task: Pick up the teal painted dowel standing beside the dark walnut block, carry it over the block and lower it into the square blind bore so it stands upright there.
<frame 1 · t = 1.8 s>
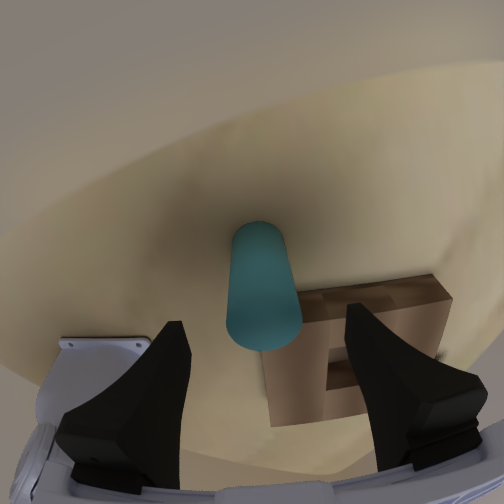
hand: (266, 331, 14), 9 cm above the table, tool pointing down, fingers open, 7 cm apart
pin: (258, 245, 21), on the table
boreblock: (346, 344, 26), on the table
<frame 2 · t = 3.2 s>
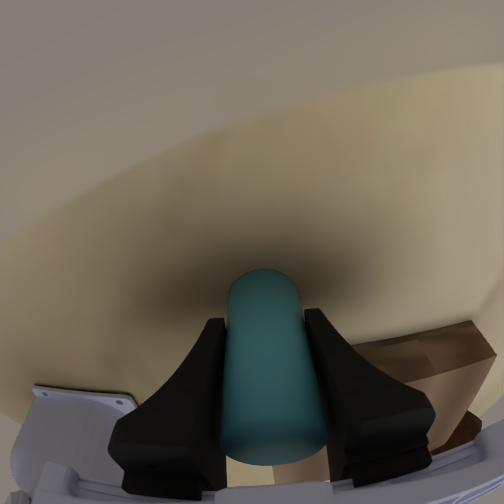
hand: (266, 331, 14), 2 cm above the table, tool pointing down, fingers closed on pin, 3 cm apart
bolt: (436, 442, 25), on the table, touching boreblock
pin: (263, 299, 16), on the table, touching gripper
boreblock: (366, 400, 20), on the table
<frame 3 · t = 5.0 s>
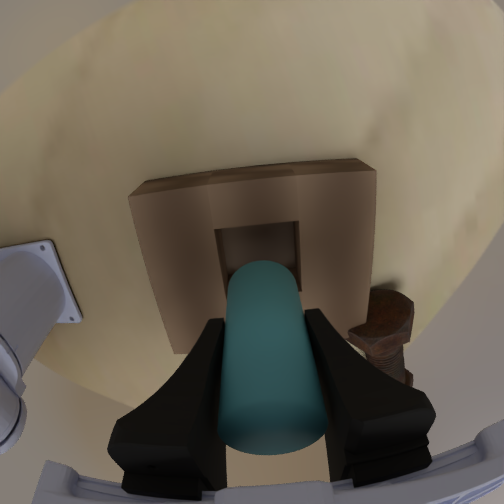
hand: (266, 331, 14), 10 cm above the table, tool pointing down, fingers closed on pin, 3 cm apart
bolt: (378, 351, 27), on the table, touching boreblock
pin: (262, 290, 16), point 7 cm above the table, touching gripper
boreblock: (259, 250, 23), on the table
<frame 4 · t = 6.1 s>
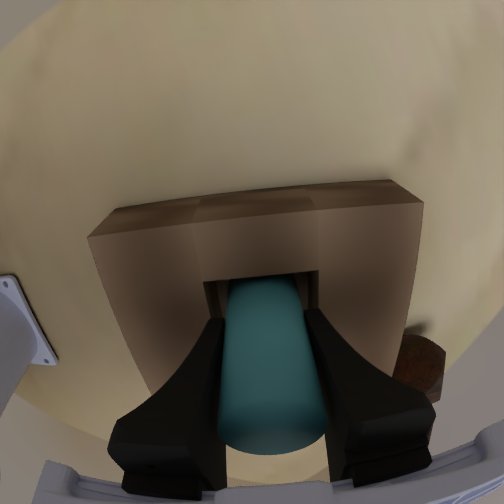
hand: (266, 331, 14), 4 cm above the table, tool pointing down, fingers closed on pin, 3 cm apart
bolt: (396, 395, 23), on the table, touching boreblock
pin: (262, 290, 16), point 1 cm above the table, touching gripper
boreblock: (263, 295, 18), on the table
when the fingers open (4 cm above the table, at t = 6.7 s): pin stays where it is, resting on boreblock.
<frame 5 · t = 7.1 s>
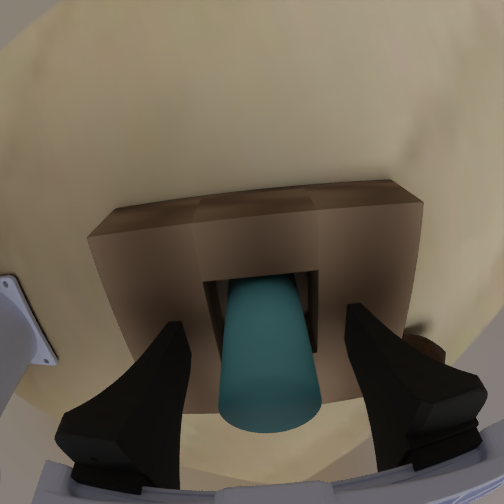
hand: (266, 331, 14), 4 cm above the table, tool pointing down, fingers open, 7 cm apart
bolt: (396, 395, 23), on the table, touching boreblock
pin: (261, 280, 17), point 1 cm above the table, touching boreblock
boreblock: (263, 295, 18), on the table
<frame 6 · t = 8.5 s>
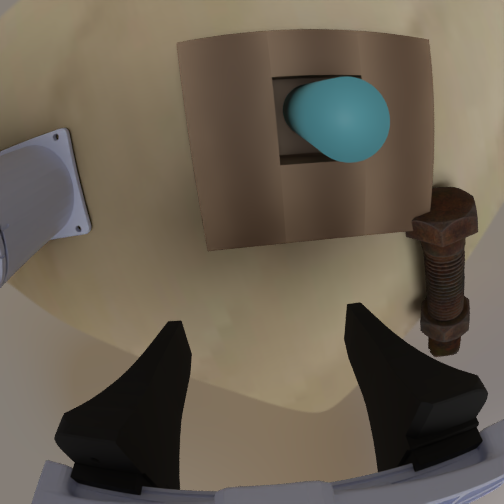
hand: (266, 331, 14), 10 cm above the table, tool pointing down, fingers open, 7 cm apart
bolt: (430, 272, 24), on the table, touching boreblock
pin: (310, 110, 18), point 1 cm above the table, touching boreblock
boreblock: (310, 130, 19), on the table
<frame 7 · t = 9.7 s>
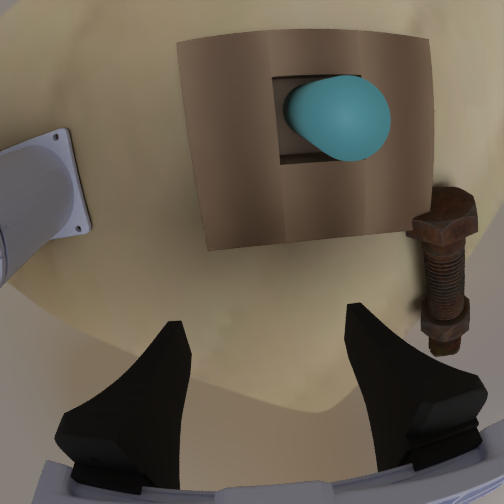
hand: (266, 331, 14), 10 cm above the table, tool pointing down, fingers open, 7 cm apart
bolt: (431, 272, 24), on the table, touching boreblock
pin: (310, 110, 18), point 1 cm above the table, touching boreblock
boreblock: (310, 130, 19), on the table
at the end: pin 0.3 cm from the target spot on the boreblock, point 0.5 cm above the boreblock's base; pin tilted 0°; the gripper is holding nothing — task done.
